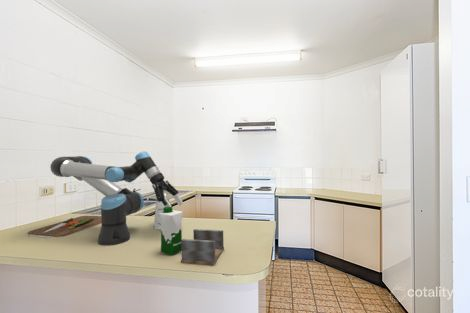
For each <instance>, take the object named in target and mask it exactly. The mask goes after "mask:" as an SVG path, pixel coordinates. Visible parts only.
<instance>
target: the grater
mask: <svg viewBox="0 0 470 313" xmlns="http://www.w3.org/2000/svg"><path fill="white" fill-rule="evenodd" d="M164 198H166V199H167V201H168V202H169V204H170V200H169V199H168V198H167V194H166V193H165V192H164ZM155 201H156V202H155V213H154V223H153V225H154V226H155V227H154V226H153V227H154V230H158V229H159V228H161V221H160V216H159V213H161V212H164V211H163V208H164V207H165V206H164V204H163V203H162V201H161V202H159V201H158V200H157V199H156V200H155ZM170 205H171V204H170ZM159 230H160V229H159Z"/></svg>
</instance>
